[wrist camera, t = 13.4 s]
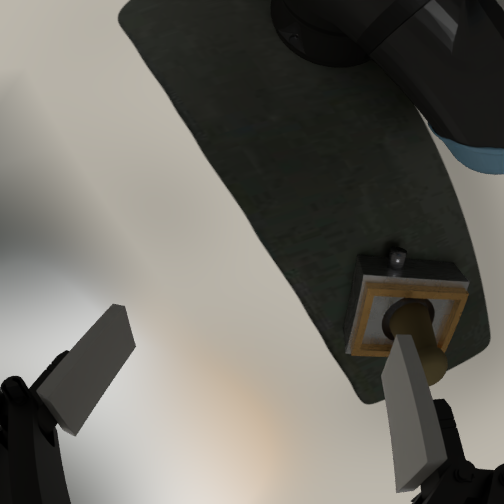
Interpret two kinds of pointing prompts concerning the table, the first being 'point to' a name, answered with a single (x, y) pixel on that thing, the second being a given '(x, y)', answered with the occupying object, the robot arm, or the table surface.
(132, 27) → the table surface
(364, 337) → the grey box with hole
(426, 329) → the cork
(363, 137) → the table surface
